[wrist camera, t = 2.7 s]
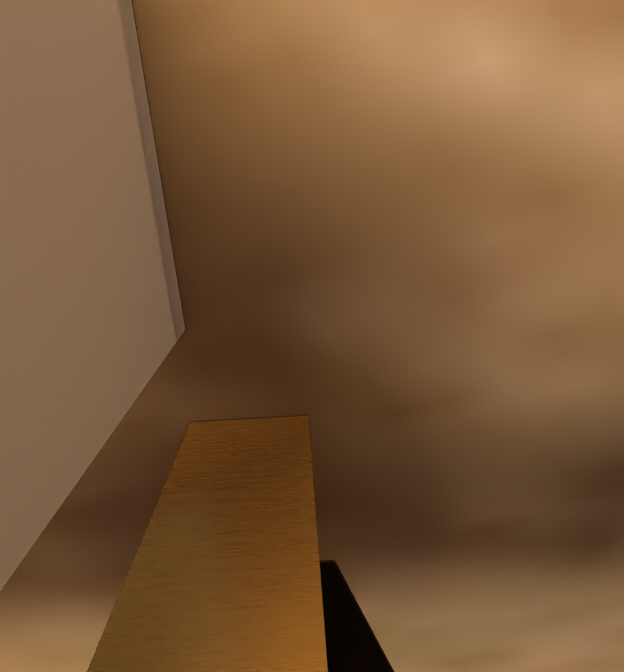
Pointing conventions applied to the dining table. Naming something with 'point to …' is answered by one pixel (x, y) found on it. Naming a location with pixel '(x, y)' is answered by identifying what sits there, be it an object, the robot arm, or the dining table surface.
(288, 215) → the dining table surface
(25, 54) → the moneybox
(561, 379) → the dining table surface
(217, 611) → the two-tone wooden block
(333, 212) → the dining table surface
